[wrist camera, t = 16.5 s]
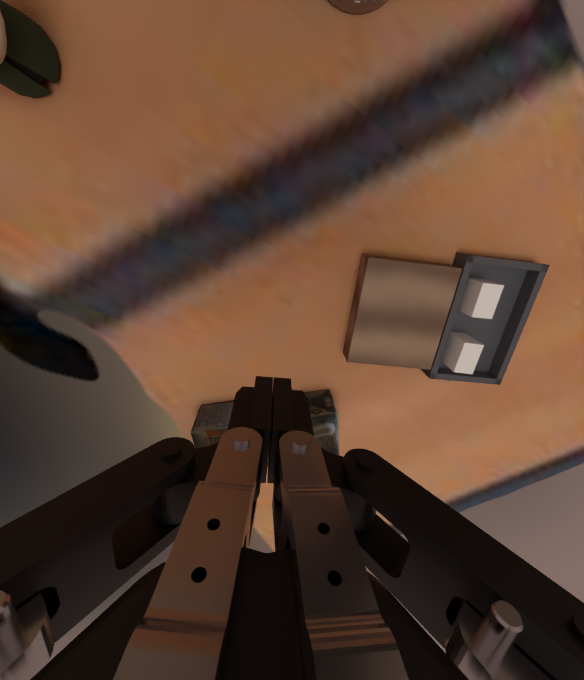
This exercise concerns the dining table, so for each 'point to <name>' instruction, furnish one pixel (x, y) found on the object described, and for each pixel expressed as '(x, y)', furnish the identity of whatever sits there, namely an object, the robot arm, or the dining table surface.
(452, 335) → the tile
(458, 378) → the tray
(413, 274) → the flat wooden board
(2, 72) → the character mug
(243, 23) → the dining table surface
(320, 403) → the beverage carton
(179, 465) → the robot arm
